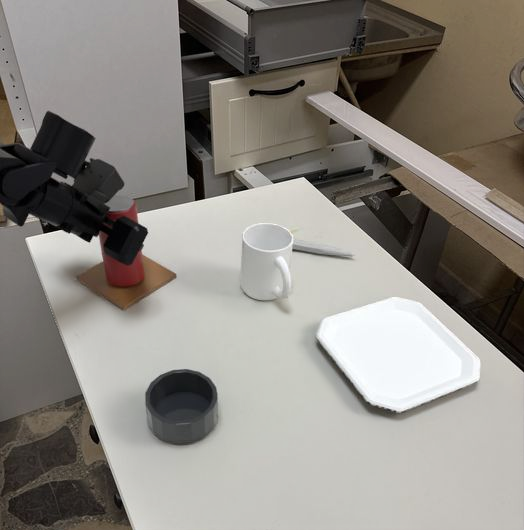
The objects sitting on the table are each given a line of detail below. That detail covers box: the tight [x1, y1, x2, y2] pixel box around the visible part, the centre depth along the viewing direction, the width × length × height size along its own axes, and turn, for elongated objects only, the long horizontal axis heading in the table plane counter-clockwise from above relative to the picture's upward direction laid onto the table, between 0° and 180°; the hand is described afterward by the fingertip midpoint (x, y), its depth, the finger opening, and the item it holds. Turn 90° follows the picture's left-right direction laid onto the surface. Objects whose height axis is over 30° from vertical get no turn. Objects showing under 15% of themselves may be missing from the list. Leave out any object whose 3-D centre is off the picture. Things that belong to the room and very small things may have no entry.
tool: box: [292, 238, 356, 258], centre depth 99 cm, size 17×2×2 cm, turn 77°
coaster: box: [75, 253, 177, 311], centre depth 91 cm, size 12×12×1 cm
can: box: [98, 194, 145, 286], centre depth 85 cm, size 6×6×13 cm
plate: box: [315, 296, 482, 414], centre depth 81 cm, size 21×21×2 cm
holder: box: [144, 368, 219, 446], centre depth 69 cm, size 9×9×4 cm
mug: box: [240, 222, 294, 301], centre depth 87 cm, size 12×8×10 cm
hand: (128, 239), depth 86 cm, fingers closed on can, 6 cm apart
